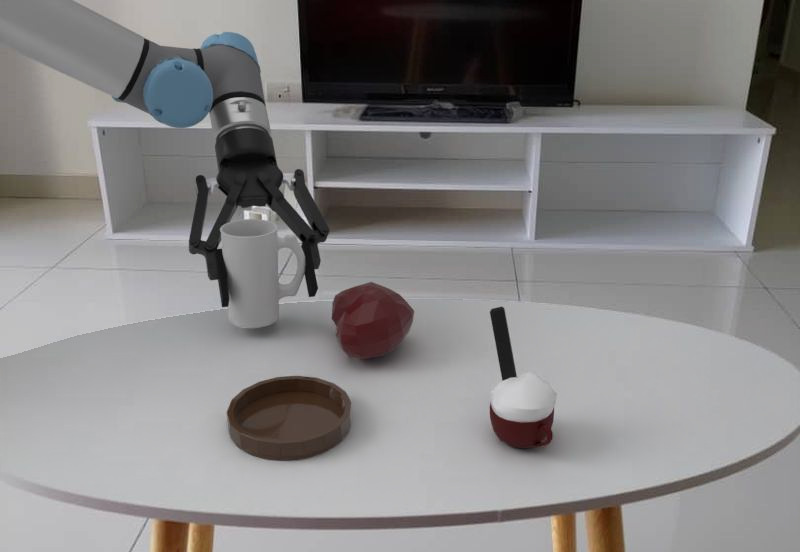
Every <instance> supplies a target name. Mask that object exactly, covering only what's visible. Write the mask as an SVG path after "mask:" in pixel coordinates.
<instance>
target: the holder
mask: <svg viewBox="0 0 800 552" xmlns="http://www.w3.org/2000/svg"><path fill="white" fill-rule="evenodd" d="M352 410H353V409H352V401H351V399H350V397H349V395H348V393H347V392H346V390H344V389H343V388H341V387H340V386H339V385H337V384H336V383H334V382H331V381H328V380H325V379H323V378H319V377H314V376H305V375H288V376H276V377H272V378H269V379H264V380H260V381H258V382H256V383H254V384H252V385H250V386H247V387H245V388H243V389H242V390H240V391H239V393H237V394H236V395H235V396H234V397H233V398H232V399H231V400H230V403H229V405H228V407H227V410H226V418H227V419H226V421H227V427H228V434H229V438H230V439H231V441H232V443H234V445H235V446H236V447H237V448H239V449H240V450H241V451H243V452H244V453H247V454H248V455H251V456H253V457H256V458H261V459H264V460H265V459H266V460H270V461H271V460H273V461H294V460H295V461H296V460H303V459H308V458H311V457H315V456H318V455H321V454H323V453H325V452H328V451H329V450H331V449H333V448H335V447H336V446H337V445H339V444H340V443H341V442H342V441H343V440H344V439H345V438H346V437H347V435H348V434H349V432H350V430H351V426H352V417H353V414H352V413H353V412H352Z"/></svg>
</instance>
